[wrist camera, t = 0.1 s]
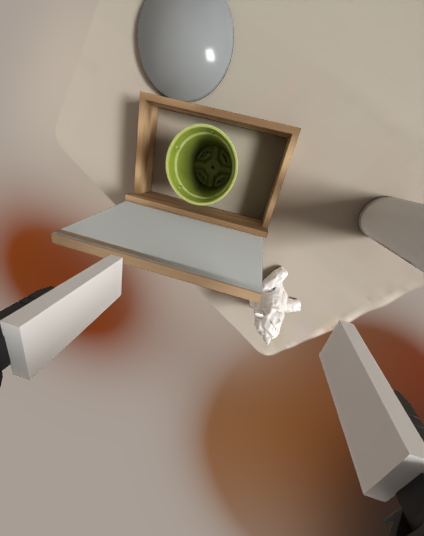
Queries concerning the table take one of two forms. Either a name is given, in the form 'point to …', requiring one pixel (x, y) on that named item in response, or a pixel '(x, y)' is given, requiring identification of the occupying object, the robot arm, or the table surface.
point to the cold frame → (180, 206)
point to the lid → (172, 247)
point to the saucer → (185, 45)
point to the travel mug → (396, 227)
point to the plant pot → (201, 164)
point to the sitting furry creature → (273, 305)
